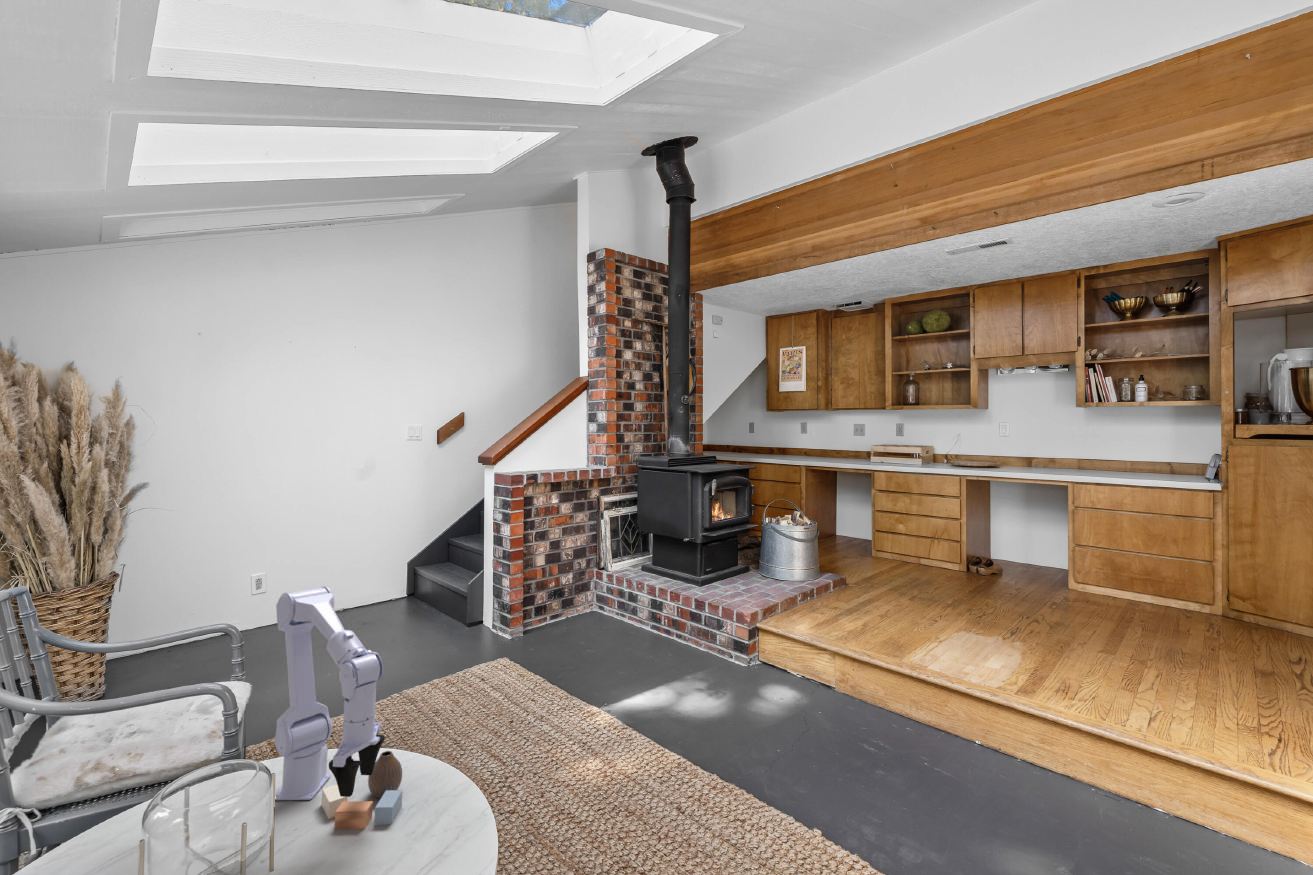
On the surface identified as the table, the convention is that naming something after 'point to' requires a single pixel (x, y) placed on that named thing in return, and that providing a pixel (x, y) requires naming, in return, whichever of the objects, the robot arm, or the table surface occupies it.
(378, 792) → the vase
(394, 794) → the slate brick
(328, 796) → the cream brick
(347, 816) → the terracotta brick
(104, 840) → the table surface
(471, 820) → the table surface
